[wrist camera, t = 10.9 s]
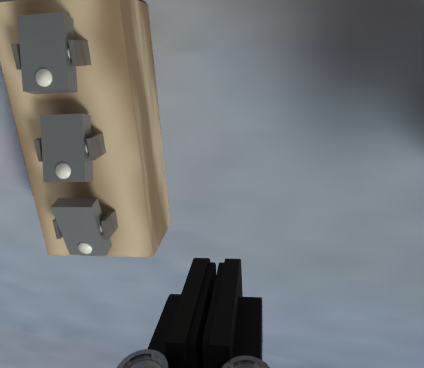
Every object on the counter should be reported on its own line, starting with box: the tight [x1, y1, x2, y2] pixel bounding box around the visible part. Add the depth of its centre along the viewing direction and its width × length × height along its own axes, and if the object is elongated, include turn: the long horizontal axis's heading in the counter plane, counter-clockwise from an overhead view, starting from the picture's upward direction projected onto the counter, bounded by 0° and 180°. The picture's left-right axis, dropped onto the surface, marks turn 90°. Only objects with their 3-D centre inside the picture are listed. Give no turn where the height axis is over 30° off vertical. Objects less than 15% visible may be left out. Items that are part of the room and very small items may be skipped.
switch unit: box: [0, 0, 171, 257], centre depth 36 cm, size 12×25×11 cm, turn 3°
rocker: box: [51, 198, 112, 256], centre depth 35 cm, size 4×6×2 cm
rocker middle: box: [40, 113, 93, 182], centre depth 32 cm, size 4×6×2 cm
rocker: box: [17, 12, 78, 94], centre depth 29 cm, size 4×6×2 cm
